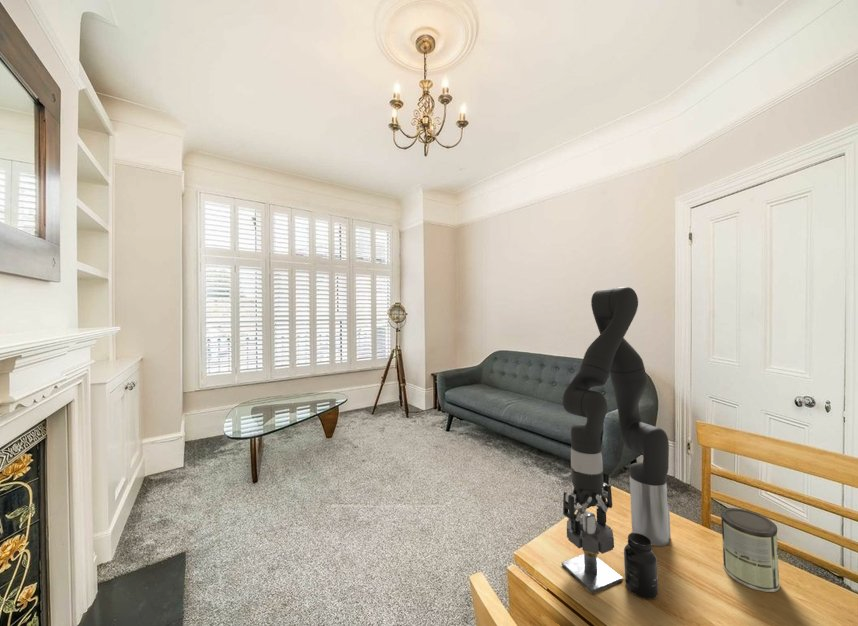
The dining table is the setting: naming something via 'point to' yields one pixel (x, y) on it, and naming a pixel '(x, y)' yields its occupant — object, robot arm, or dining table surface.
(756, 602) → the dining table surface
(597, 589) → the metal peg stand
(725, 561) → the coffee can
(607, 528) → the ring
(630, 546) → the supplement bottle
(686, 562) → the dining table surface
